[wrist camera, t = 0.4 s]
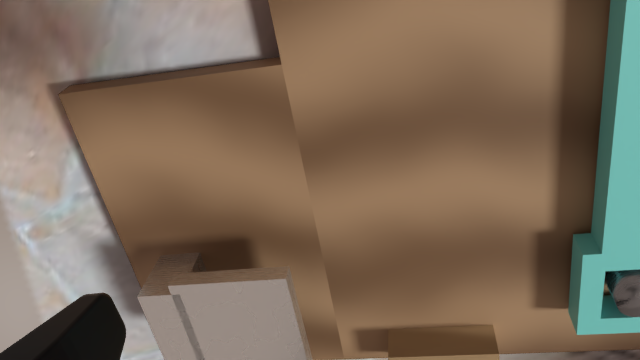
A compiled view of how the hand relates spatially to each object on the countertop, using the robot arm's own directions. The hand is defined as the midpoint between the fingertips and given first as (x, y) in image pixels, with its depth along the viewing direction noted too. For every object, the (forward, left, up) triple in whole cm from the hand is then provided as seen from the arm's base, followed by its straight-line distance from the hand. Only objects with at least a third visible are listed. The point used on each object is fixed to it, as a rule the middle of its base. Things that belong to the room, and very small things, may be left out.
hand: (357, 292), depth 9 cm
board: (-4, 0, -14) cm, 15 cm away
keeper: (-11, +8, -14) cm, 20 cm away
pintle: (-11, -9, -14) cm, 20 cm away
